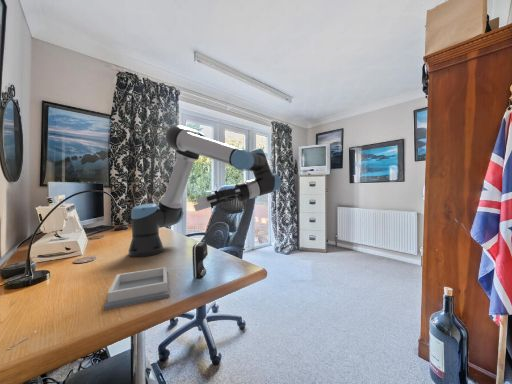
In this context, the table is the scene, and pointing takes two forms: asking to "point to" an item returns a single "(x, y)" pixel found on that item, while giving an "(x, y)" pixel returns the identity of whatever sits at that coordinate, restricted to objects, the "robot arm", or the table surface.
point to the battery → (199, 259)
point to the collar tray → (138, 288)
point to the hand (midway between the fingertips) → (195, 205)
